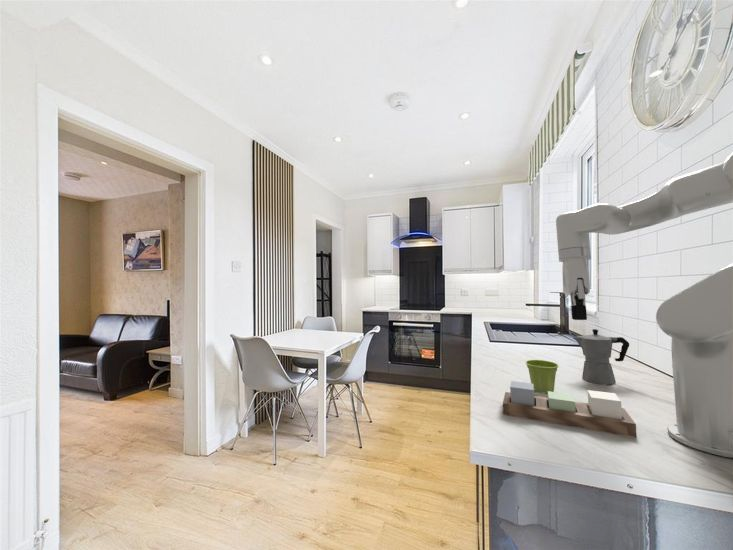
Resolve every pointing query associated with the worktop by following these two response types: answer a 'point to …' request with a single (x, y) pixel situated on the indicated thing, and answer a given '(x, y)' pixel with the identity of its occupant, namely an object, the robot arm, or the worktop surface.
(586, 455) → the worktop surface
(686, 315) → the robot arm
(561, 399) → the sage button
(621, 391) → the worktop surface
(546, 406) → the button housing
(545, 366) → the plant pot
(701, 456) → the worktop surface
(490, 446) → the worktop surface
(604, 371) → the coffeepot
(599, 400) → the white button
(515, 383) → the grey button
